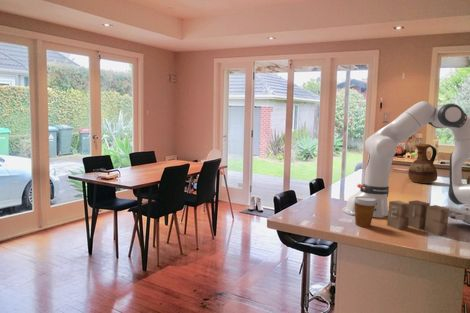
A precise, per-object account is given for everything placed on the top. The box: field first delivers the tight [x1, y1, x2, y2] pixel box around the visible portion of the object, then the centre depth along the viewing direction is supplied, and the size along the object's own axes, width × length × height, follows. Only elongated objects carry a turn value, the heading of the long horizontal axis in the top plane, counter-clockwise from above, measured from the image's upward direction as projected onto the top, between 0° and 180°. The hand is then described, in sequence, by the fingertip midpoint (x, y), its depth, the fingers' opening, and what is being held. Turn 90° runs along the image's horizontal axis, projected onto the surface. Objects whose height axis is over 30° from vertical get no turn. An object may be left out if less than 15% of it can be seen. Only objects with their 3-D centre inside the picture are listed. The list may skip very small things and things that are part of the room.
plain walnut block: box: [424, 204, 449, 237], centre depth 159 cm, size 6×6×11 cm
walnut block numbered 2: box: [386, 200, 410, 230], centre depth 164 cm, size 6×6×11 cm
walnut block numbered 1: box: [408, 200, 431, 230], centre depth 167 cm, size 6×6×11 cm
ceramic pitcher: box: [407, 143, 438, 184], centre depth 287 cm, size 20×20×30 cm
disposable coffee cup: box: [354, 196, 376, 228], centre depth 164 cm, size 10×10×12 cm
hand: (453, 217), depth 164 cm, fingers closed
